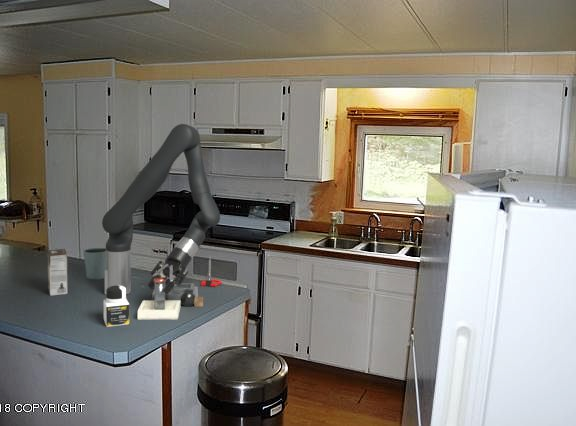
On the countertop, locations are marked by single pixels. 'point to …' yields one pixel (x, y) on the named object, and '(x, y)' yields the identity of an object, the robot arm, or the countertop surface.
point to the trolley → (182, 294)
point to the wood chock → (198, 302)
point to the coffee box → (57, 271)
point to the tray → (148, 311)
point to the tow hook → (209, 280)
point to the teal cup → (95, 262)
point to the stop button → (159, 293)
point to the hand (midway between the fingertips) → (157, 290)
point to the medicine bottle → (116, 306)
